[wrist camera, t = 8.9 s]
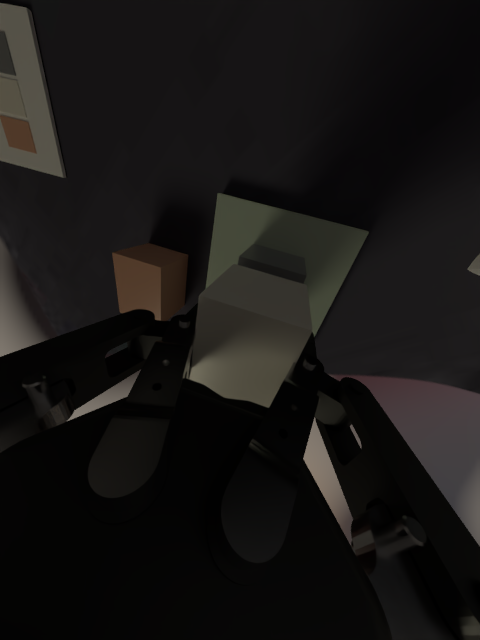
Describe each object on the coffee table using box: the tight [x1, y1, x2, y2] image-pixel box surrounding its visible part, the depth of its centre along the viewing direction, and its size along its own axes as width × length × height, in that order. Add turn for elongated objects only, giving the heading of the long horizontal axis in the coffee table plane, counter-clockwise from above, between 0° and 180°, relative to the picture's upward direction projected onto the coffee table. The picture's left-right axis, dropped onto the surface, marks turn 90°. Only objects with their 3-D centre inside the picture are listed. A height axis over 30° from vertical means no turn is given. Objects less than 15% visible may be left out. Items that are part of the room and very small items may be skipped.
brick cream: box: [190, 264, 312, 408], centre depth 11 cm, size 6×4×5 cm
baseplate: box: [206, 193, 369, 337], centre depth 17 cm, size 12×12×6 cm
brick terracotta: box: [112, 243, 188, 321], centre depth 20 cm, size 6×4×5 cm
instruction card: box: [0, 3, 66, 178], centre depth 17 cm, size 10×8×1 cm
